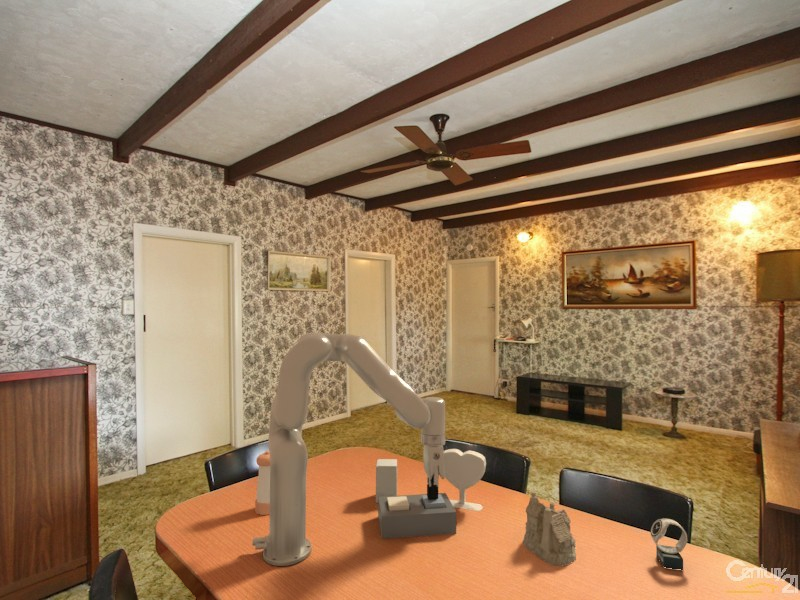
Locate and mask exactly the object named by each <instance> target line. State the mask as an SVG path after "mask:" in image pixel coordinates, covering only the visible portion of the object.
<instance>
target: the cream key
mask: <svg viewBox="0 0 800 600" xmlns="http://www.w3.org/2000/svg"><path fill="white" fill-rule="evenodd" d="M399 496H400V497H387V508H388V511H398V510H409V503H408V500H407V497H406V496H402V495H399Z"/></svg>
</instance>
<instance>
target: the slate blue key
mask: <svg viewBox="0 0 800 600" xmlns="http://www.w3.org/2000/svg"><path fill="white" fill-rule="evenodd" d="M422 504H423V506H424V509H430V508H445V502H444V500H443V498H442V496H441V494H438V499H430V500H429V499H428V497H427V495H422Z"/></svg>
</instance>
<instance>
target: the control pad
mask: <svg viewBox="0 0 800 600" xmlns="http://www.w3.org/2000/svg"><path fill="white" fill-rule="evenodd" d="M438 494H441V496H442V498H443V500H444V502H445V508H430V509H424V506H423V504H422V495H427V493H422V494H421V493H420V494H405V495H404V494H403V495H397V496H384V497H378V503H377V505H378V506H377V508H378V510H377V511H378V512H377V513H378V515H377V518H378V524H379V529H380V530H379V531H380V534H381V535H380V536H381V540H384V539H385V540H387V539H399V538H412V537H416V538H417V537H425V536H426V537H427V536H441V535H442V536H443V535H444V536H445V535H454V534H455V535H456V534H457V510H456V509H455V507H453V505H452V504H451V502H450V500H451V499H449V497H448V495H447V493H446V492H440V493H439V492H438ZM400 496H406V497H407V500H408V503H409V510H398V511H388V508H387V497H400Z"/></svg>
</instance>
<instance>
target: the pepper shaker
mask: <svg viewBox="0 0 800 600" xmlns="http://www.w3.org/2000/svg"><path fill="white" fill-rule="evenodd" d="M255 461H256V464H257V465H258V479H257V485H256V499H255V502H254V503H255V505H254V506H255V508H254V509H255V511H254V512H255V513H256V515H259V514H260V515H259V516H268V514H269V515H270V453H269V450H266V451H265V452H263V453H261V454H259V455H258V456H257V458H256V460H255Z"/></svg>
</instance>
